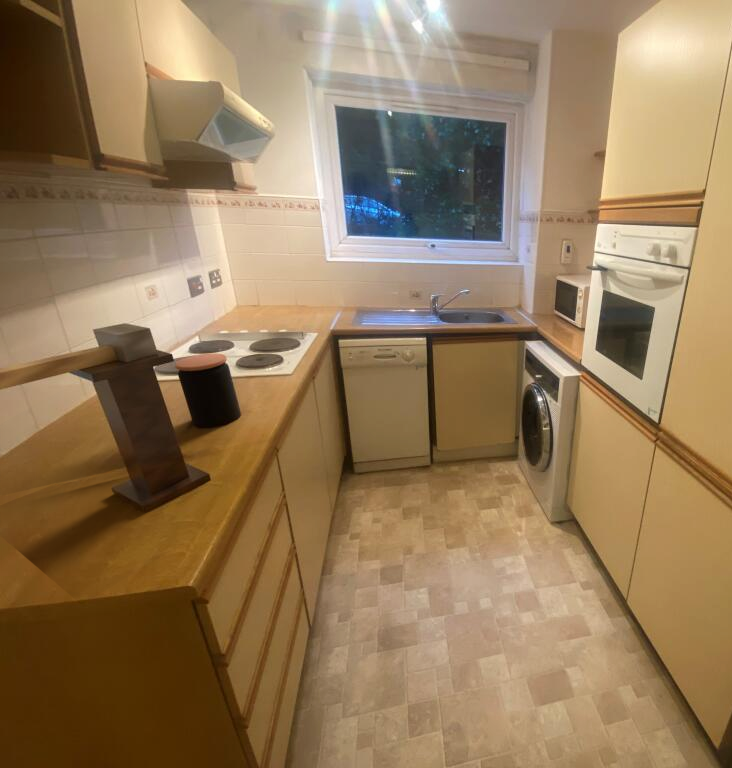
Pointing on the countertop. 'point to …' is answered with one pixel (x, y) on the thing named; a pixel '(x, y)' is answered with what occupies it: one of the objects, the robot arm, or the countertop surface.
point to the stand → (143, 431)
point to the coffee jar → (208, 390)
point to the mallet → (86, 355)
